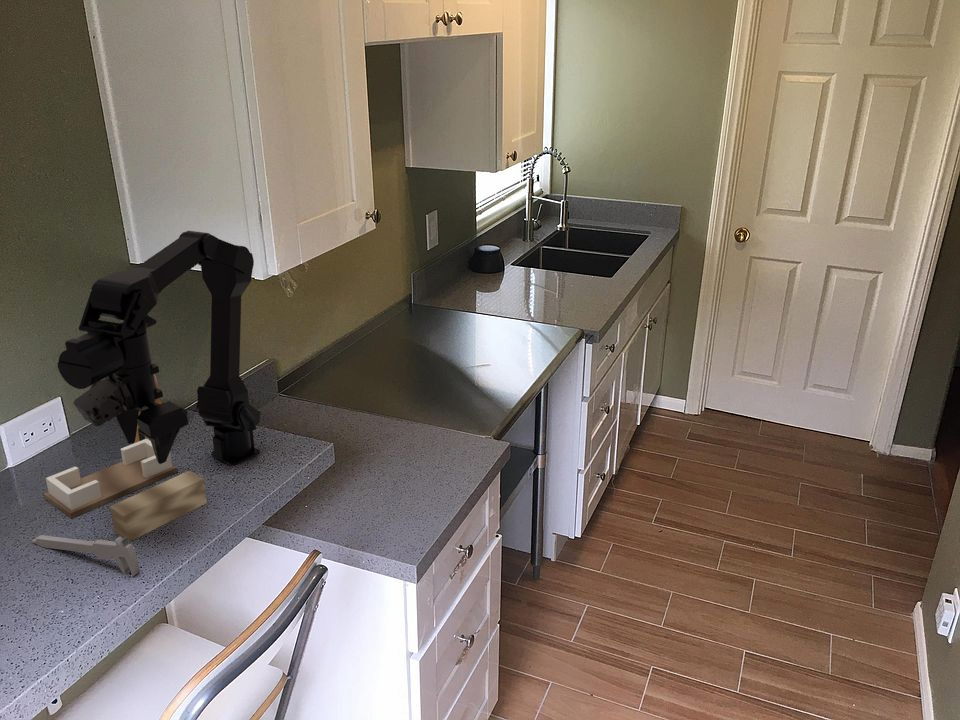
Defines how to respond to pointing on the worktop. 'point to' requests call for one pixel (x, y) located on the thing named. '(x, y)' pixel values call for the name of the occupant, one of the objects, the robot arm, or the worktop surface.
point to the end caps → (91, 491)
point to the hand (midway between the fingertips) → (146, 452)
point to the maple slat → (158, 505)
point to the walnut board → (113, 485)
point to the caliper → (97, 549)
